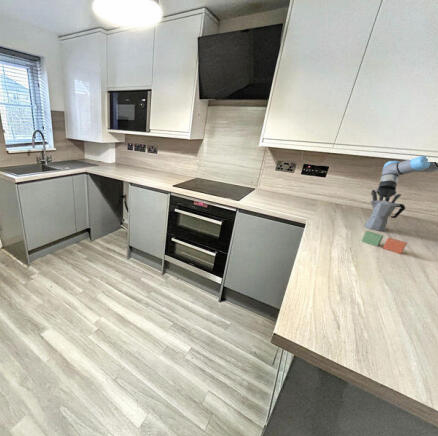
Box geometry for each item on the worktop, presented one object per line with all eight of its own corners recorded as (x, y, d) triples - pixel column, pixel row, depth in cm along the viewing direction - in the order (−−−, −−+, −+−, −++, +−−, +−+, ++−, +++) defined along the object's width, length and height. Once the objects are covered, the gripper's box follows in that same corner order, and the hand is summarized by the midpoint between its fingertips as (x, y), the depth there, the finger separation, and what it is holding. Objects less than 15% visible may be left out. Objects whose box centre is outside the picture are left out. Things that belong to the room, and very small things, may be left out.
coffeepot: (364, 228, 132) (377, 198, 125) (356, 223, 140) (369, 194, 134) (398, 234, 127) (414, 202, 121) (389, 228, 135) (403, 198, 129)
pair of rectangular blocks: (402, 252, 106) (407, 242, 104) (400, 254, 105) (405, 244, 103) (363, 239, 117) (367, 230, 115) (361, 241, 115) (365, 231, 113)
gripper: (400, 189, 140) (392, 222, 134) (371, 185, 148) (362, 216, 141) (406, 182, 135) (398, 216, 128) (375, 178, 142) (367, 210, 135)
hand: (379, 216), depth 135 cm, fingers closed
